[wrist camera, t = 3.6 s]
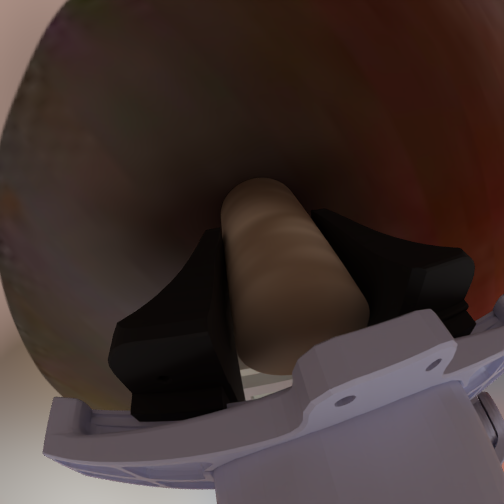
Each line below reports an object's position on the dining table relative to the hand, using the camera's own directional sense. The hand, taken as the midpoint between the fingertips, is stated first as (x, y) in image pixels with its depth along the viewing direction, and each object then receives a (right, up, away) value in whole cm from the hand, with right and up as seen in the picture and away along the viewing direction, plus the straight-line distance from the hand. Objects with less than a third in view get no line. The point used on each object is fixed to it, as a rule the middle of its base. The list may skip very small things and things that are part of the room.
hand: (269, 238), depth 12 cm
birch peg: (0, +1, +2) cm, 2 cm away
